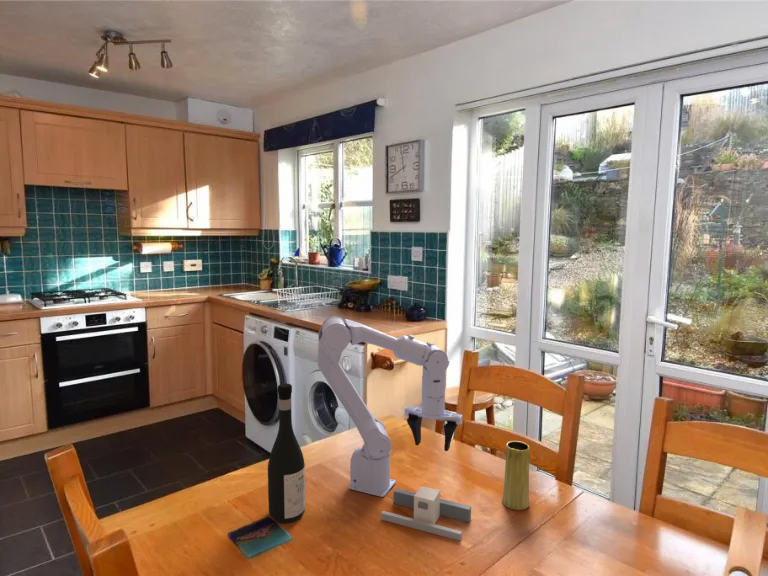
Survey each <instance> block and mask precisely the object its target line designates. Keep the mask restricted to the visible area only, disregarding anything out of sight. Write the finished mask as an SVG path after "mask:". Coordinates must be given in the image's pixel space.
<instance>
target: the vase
mask: <svg viewBox="0 0 768 576" xmlns="http://www.w3.org/2000/svg"><path fill="white" fill-rule="evenodd" d="M505 445H506V446H505V447H506V452H505V467H504V482H503V490H502V491H503V492H502V500H501V501H502V505H504V506H505V507H506V508H509V509H511V510H514V511H524V510H526V509H527V508H529V506H530V459H531V458H530V456H531V455H530V454H531V447H530V445H529V444H528V443H526V442H524V441H520V440H509V441H508V442H507V443H506V444H505Z"/></svg>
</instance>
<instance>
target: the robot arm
mask: <svg viewBox="0 0 768 576" xmlns="http://www.w3.org/2000/svg"><path fill="white" fill-rule="evenodd" d="M317 335H318V338H317V358H316V360H317V361H316V363H317V367H318V369H319V371H320V372H321V374H322V375H323V377H324V378H325V380H326V381H327V383H328V384H329V386H330V388H331V389H332V391H333V393H335V395H336V397H337V398H338V400H339V402H340V404H341V405H342V406H343V408H344V409H345V411H346V413H347V414H348V416H349V417H350V419H351V420H352V422H353V423H354V426H355V427H356V429H357V431H358V434H359V435H360V437H361V439H362V441H363V445H362V446H361V447H357V448H355V449H354V451H353V452H352V455H351V457H350V467H349V468H350V472H349V474H350V475H349V478H350V485H349V486H348V489H349V490H353V491H357V492H361V493H365V494H368V495H373V496H378V497H381V498H384V497H386V495H387V494H388V493H389V492H390V490H391V489H392V487H393V486H394V485H395V484H396V483H397V480H396V479H392V478H391V450H392V441H391V439H390V437H389V436H388V433H387V430H386V427H385V425H384V423H383V422H382V421H380V420H379V419H376V417H375V416H374V414H373V413H372V412H371V411H370V409H369V408H368V406H367V405H366V403H365V401H364V400H363V398H362V397H361V395H360V394H359V392H358V390H357V389H356V387H355V386H354V384H353V382H352V381H351V379H350V378H349V376H348V374H347V373H346V372H345V370H344V368H343V367H342V365H341V364H340V360H341V358H342V353H343V352H344V350H345V349H346V348H347V347H348V345H349V344H350V345H351V346H354V345H357V344H359V343H363V342H364V343H366V344H370V345H374V346H377V347H380V348H383V349H386V350H389V351H391V352H392V354H393V355H394V357H395V358H396V359H399V360H402V361H404V362H408V363H409V364H413V365H416V366H420V367H421V366H422V375H421V406H413V405H412V406H411V405H406V407H404V414H403V415H404V416H406V417H408V418H406V423H407V424H408V426H409V428H410V430H411V433H412V436H413V439H414V444H415V446H419V445H420V444H421V440H422V420H423V418H424V419H429V420H435V421H441V422H446V423H445V424H444V425H443V430H444V452H448V451H449V450H450V448H451V442H452V438H453V435H454V433H455V431H456V429H457V427H458V426H461V424H462V423H463V414H461V413H460V414H459V413H457V412H453V411H449V410H447V409H446V408H445V406H446V401H445V400H446V370H447V369H448V367H449V366H450V361H449V358H448V355H447V354H446V352H445V351H444V350H443V349H441V348H440V347H439V346H437V345H435V344H434V343H431V342H428V341H426V342H424V341H421V340H418V339H416V338H415V336H414V335H413V334H408V335H405V334H402V335H400V336H398V337H395V336H393V335H390V334H387V333H384V331H383V332H382V331H381V330H377V329H375V328H373V327H370V326H367V325H365V324H363V323H360V322H357V321H355V320H351V319H346V318H345V319H343V318H342V317H340V316H335V315H332V316H329V317H327V318H326V319H324V321H323V322H322V324H321V327H320V329H319V331H318V334H317Z"/></svg>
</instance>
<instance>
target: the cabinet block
mask: <svg viewBox="0 0 768 576" xmlns="http://www.w3.org/2000/svg"><path fill="white" fill-rule="evenodd" d="M415 493H416V494H415V495H414V508H413V519H416V520H420V521H424V522H428V523H432V524H435V525H436V523H437V521H438V519H439V518H440V517H441V515H440V499H441V490H439V489H435V488H431V487H426V486H423V485H420V487H419V488H418V489H417V491H416V492H415Z"/></svg>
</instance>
